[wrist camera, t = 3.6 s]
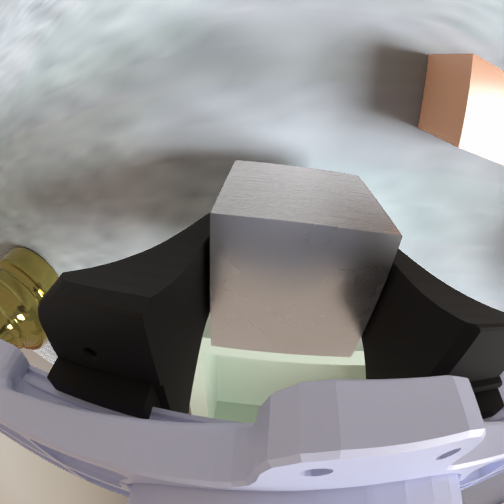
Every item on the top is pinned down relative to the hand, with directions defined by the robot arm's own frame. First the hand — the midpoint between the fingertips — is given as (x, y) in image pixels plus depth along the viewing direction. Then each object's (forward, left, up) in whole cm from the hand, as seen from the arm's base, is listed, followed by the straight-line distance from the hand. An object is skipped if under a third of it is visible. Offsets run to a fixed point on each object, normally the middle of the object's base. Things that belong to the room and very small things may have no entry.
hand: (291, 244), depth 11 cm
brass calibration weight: (+21, -2, -4) cm, 22 cm away
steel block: (0, 0, -2) cm, 2 cm away
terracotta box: (-10, -2, -4) cm, 11 cm away
